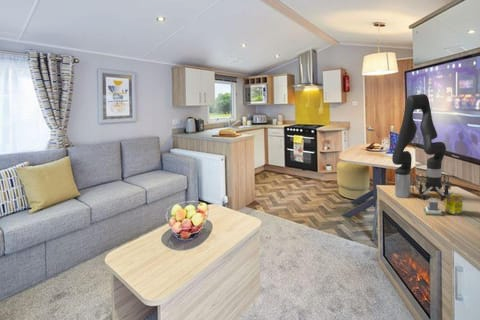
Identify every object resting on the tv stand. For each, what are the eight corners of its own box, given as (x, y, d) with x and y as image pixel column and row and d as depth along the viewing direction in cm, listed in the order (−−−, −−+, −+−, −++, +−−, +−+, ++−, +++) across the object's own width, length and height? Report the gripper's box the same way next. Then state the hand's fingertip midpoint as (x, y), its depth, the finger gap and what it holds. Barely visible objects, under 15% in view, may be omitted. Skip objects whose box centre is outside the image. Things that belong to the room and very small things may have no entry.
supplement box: (454, 215, 157) (455, 198, 155) (444, 212, 163) (445, 195, 161) (462, 213, 158) (463, 196, 156) (452, 210, 164) (453, 193, 162)
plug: (428, 209, 167) (428, 198, 165) (436, 210, 165) (436, 198, 163) (429, 212, 163) (429, 200, 162) (437, 212, 161) (437, 201, 160)
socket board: (423, 209, 170) (423, 205, 169) (439, 210, 166) (439, 206, 165) (425, 215, 162) (426, 211, 162) (443, 216, 158) (443, 212, 158)
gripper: (446, 173, 159) (445, 198, 163) (418, 173, 166) (418, 197, 169) (450, 177, 153) (448, 203, 156) (420, 176, 159) (420, 202, 163)
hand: (432, 200), depth 163 cm, fingers open, 8 cm apart
